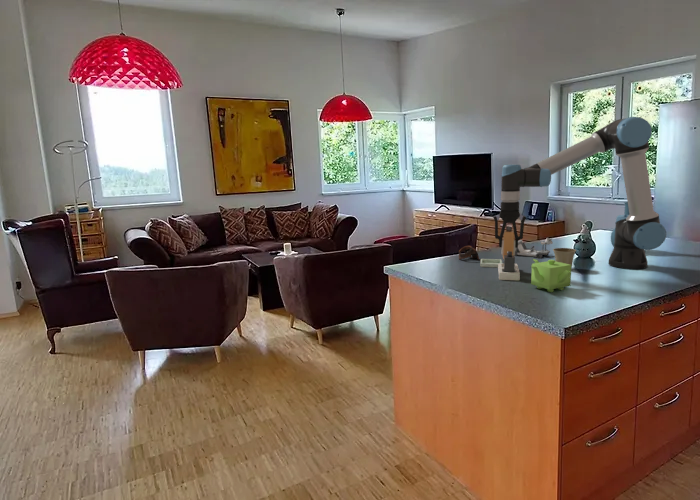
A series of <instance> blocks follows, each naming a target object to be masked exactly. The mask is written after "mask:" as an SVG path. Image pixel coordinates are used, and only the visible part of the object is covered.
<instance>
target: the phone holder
mask: <svg viewBox="0 0 700 500" xmlns="http://www.w3.org/2000/svg"><path fill="white" fill-rule="evenodd" d="M552 239H553V238H549V237H546V239H545V241H540V245H542V249H541V250H536V249H535V246H534V245H533V246H531V247H530V248H527V246H526V244H525V242H523V239H520V240H518V248H515V256H514V257H517V256H525V257H535V259H539V260H540V259H542V258H543V255H545V256H546V255H549V254H550V252H551V251H550V250H548V249H547V246H548V245H549V246H550V245H553V242H554V241H552ZM544 245H545V246H544Z"/></svg>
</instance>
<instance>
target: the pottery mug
mask: <svg viewBox="0 0 700 500" xmlns="http://www.w3.org/2000/svg"><path fill="white" fill-rule="evenodd" d="M463 252H464V253H463ZM468 258H472V259H477V260H478V261H479V260H480V256H479V253H478V251H477V250H476V249H475V248H474V247H473V246H472V245H465V246H463V247H461V248H460V249H459V250H458V260H465V259H468Z"/></svg>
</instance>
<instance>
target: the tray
mask: <svg viewBox="0 0 700 500" xmlns="http://www.w3.org/2000/svg"><path fill="white" fill-rule="evenodd" d="M498 263H503V259H501V258H498V259H495V258H480V263H479V265H480V268H498Z"/></svg>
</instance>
